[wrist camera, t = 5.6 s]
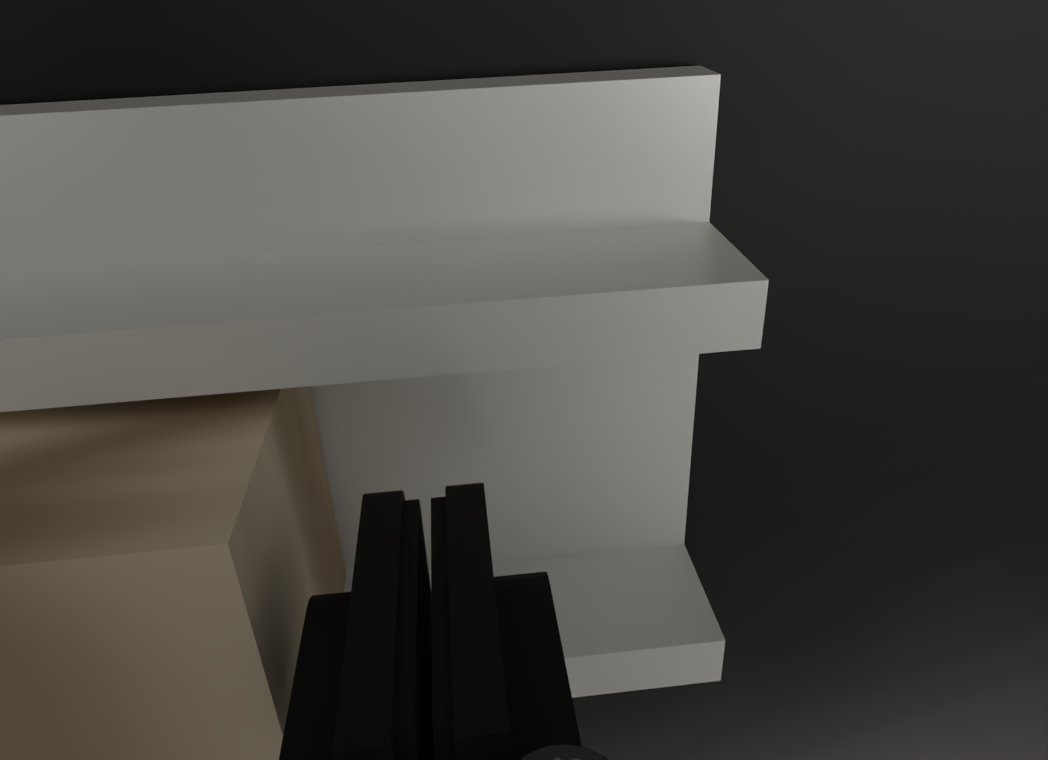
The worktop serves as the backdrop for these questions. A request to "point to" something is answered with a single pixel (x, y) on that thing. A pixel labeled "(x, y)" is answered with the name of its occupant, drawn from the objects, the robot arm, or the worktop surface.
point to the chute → (414, 307)
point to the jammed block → (159, 574)
